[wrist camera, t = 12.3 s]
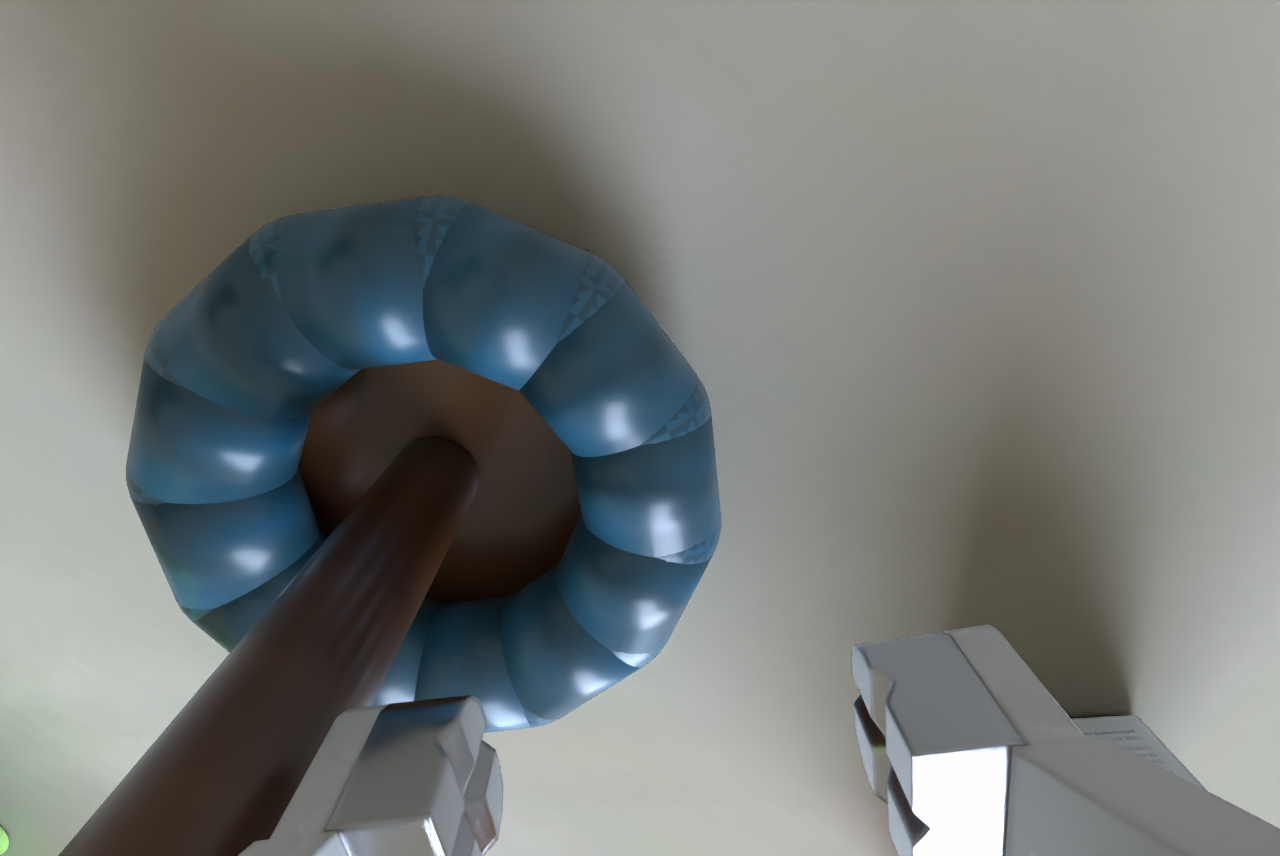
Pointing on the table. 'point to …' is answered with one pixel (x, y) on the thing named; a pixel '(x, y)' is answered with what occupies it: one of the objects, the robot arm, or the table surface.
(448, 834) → the robot arm
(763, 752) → the table surface
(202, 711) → the stand
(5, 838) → the teapot
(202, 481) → the ring
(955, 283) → the table surface
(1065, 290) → the table surface
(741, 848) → the table surface
